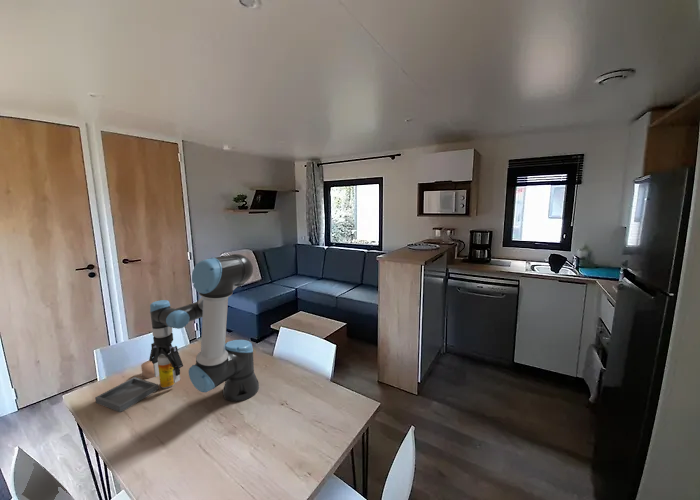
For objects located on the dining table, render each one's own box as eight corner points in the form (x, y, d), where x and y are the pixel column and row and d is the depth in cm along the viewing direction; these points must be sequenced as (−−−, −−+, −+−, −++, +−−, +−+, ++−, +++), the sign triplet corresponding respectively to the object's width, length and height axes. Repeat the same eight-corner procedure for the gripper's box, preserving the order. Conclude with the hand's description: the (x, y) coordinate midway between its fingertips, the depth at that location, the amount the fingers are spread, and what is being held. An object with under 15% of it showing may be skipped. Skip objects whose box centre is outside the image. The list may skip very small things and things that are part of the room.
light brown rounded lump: (162, 372, 147) (161, 361, 146) (148, 380, 141) (147, 368, 140) (153, 369, 150) (152, 358, 149) (139, 377, 143) (137, 365, 142)
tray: (158, 389, 133) (157, 384, 133) (120, 412, 119) (119, 406, 118) (135, 382, 139) (134, 376, 139) (96, 402, 124) (95, 397, 124)
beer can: (170, 389, 134) (167, 358, 131) (157, 389, 134) (154, 358, 131) (178, 381, 140) (175, 351, 137) (166, 381, 140) (162, 351, 137)
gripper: (189, 335, 132) (193, 379, 135) (152, 327, 141) (157, 369, 144) (174, 342, 125) (178, 388, 128) (136, 333, 134) (141, 377, 137)
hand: (167, 378), depth 136 cm, fingers open, 12 cm apart
